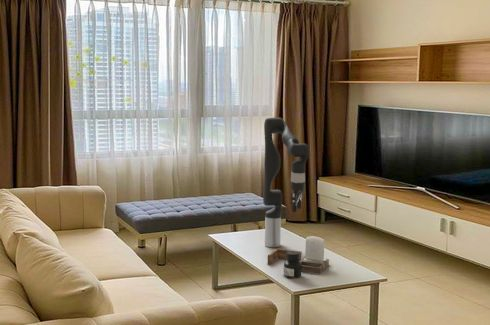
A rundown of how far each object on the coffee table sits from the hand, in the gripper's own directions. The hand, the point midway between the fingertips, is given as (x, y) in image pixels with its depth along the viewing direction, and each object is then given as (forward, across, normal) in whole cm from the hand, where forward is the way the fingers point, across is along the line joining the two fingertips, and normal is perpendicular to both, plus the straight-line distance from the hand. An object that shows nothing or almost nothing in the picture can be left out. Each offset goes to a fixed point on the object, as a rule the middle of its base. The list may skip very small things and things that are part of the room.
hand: (296, 210), depth 321 cm
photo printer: (+24, +7, +13) cm, 28 cm away
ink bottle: (+27, +28, +7) cm, 39 cm away
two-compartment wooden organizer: (+27, +11, +13) cm, 32 cm away
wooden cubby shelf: (+27, +9, -3) cm, 29 cm away
